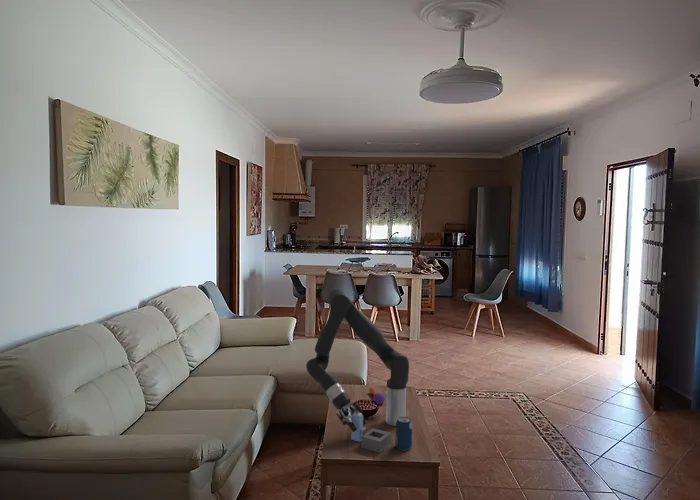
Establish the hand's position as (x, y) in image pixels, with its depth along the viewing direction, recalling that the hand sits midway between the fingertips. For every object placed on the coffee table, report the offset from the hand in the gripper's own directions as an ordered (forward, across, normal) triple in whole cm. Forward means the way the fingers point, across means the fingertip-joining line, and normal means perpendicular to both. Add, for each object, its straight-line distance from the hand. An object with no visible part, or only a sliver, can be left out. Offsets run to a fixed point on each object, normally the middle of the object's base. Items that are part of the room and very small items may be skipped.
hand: (360, 427), depth 211 cm
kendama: (-8, +49, +17) cm, 53 cm away
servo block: (+3, 0, +5) cm, 6 cm away
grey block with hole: (+10, -1, -2) cm, 10 cm away
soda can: (+17, +4, -9) cm, 20 cm away
